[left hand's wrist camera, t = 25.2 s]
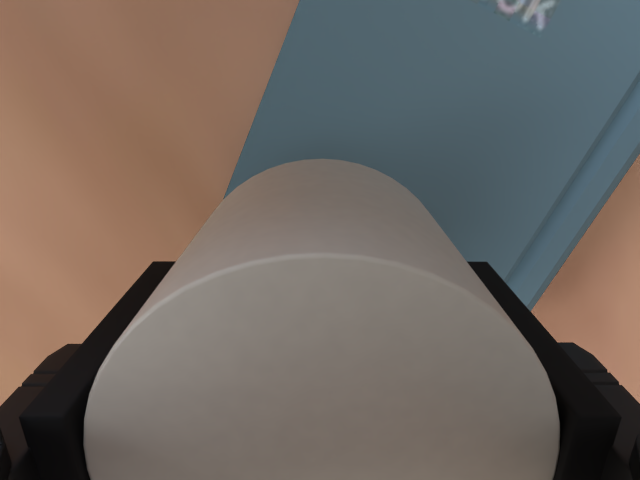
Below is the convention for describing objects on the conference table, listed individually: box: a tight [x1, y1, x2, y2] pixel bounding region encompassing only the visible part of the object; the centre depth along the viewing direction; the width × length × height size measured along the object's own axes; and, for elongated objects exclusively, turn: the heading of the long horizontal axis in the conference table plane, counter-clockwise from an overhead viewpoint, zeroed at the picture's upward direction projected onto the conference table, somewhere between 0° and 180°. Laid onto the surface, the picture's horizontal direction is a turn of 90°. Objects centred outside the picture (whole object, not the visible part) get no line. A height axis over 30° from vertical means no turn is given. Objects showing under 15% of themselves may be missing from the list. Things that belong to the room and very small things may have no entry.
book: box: [223, 0, 640, 311], centre depth 20 cm, size 23×16×5 cm
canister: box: [83, 159, 560, 480], centre depth 12 cm, size 9×9×8 cm
